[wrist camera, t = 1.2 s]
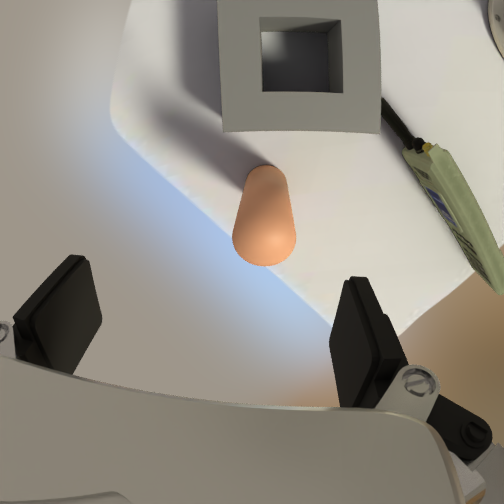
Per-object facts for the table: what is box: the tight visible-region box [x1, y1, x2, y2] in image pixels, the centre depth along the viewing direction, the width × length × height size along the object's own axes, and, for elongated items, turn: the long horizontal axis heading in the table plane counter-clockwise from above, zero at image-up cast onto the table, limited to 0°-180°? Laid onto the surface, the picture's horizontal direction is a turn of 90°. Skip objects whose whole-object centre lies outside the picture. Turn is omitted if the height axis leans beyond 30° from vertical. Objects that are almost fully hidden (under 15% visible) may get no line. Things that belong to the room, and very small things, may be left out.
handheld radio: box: [381, 98, 504, 295], centre depth 27 cm, size 7×3×25 cm
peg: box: [232, 165, 296, 266], centre depth 26 cm, size 4×4×12 cm
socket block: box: [217, 0, 381, 134], centre depth 22 cm, size 12×12×6 cm
